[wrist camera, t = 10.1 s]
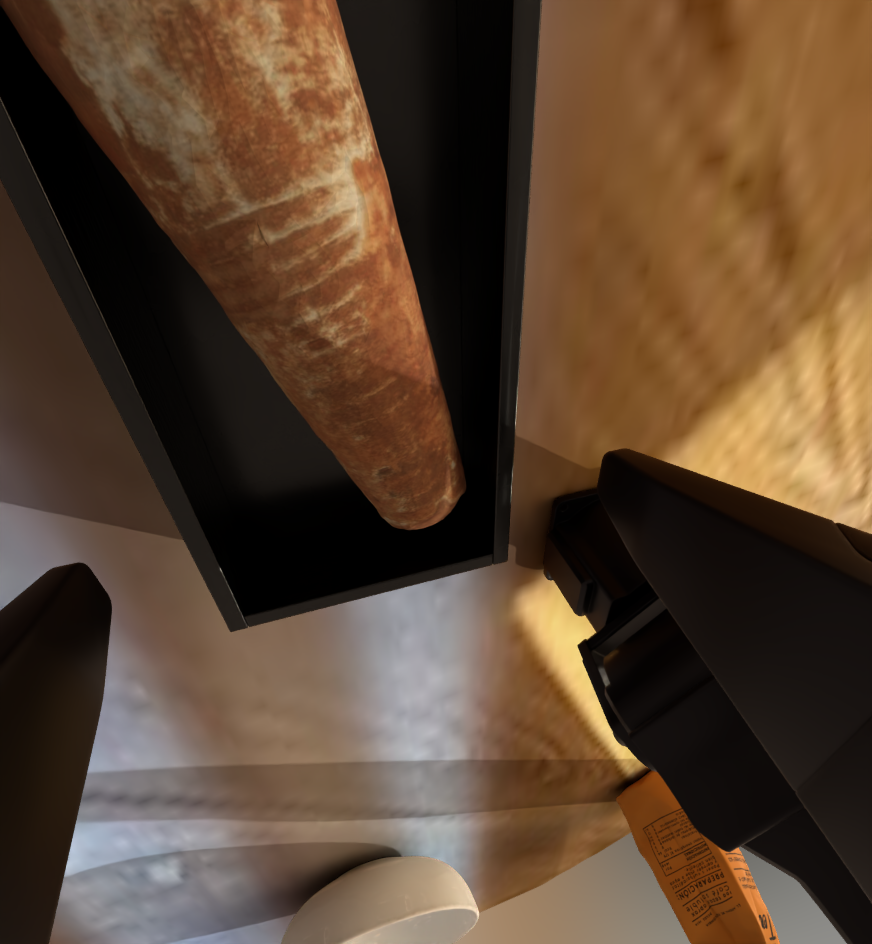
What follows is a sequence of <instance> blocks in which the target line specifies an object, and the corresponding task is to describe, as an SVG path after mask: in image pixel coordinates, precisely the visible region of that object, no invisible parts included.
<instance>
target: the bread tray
mask: <svg viewBox="0 0 872 944" xmlns="http://www.w3.org/2000/svg"><path fill="white" fill-rule="evenodd" d="M336 2H337V5H338V9H339V12H340V16H341V20H342V24H343V27H344V31H345V35H346V38H347V42H348V45H349V49H350V52H351V56H352V59H353V63H354V66H355V69H356V73H357V76H358V80H359V83H360V86H361V90H362V93H363V96H364V100H365V103H366V106H367V110H368V113H369V117H370V120H371V124H372V128H373V131H374V135H375V139H376V142H377V146H378V150H379V153H380V156H381V160H382V163H383V166H384V169H385V172H386V176H387V180H388V184H389V188H390V192H391V196H392V201H393V205H394V209H395V214H396V218H397V222H398V227H399V230H400V234H401V237H402V240H403V244H404V247H405V251H406V254H407V257H408V261H409V264H410V268H411V271H412V275H413V278H414V282H415V285H416V289H417V293H418V297H419V301H420V305H421V309H422V313H423V317H424V320H425V324H426V327H427V331H428V335H429V338H430V342H431V345H432V349H433V353H434V356H435V360H436V363H437V367H438V372H439V376H440V380H441V383H442V387H443V391H444V394H445V398H446V402H447V405H448V409H449V412H450V416H451V422H452V427H453V431H454V435H455V438H456V442H457V446H458V449H459V453H460V457H461V460H462V464H463V467H464V474H465V480H466V485H467V487H466V491H465V493H464V494H462V495H461V497H460V498H459V500H458V501H457V504H456V506H455V507H454V508H453V509H452V511H451V512H450V513H449V514H448V515H447V516H446V517H445V518H444V519H442V520H441V521H439V522H437V523H436V524H434V525H432V526H429V527H426V528H422V529H416V530H406V529H399V528H395V527H393V526H391V525H390V524H389V523H388V522H387V521H386V520H385V519H383V518H382V517H381V516H380V514H379V513H378V511H377V509H376V508H375V506H374V505H373V504H372V503H371V502H370V501H369V500H368V498H367V497H366V496H365V495H364V493H363V492H362V491H361V489H360V488H359V487H358V486H357V485H356V484H355V482H354V481H353V480H352V479H351V477H350V476H349V475H348V473H347V472H346V471H345V469H344V468H343V466H342V465H341V464H340V463H339V461H338V460H337V458H336V457H335V455H334V454H333V453H332V451H331V450H330V449H329V448H328V447H327V446H326V445H325V443H324V442H323V441H322V440H321V439H320V438H319V437H318V436H317V435H316V434H315V432H314V431H313V430H312V428H311V427H310V425H309V424H308V423H307V421H306V420H305V419H304V417H303V416H302V415H301V414H300V412H299V411H298V410H297V408H296V407H295V406H294V405H293V403H292V402H291V401H290V400H289V398H288V397H287V396H286V395H285V393H284V392H283V391H282V389H281V388H280V386H279V385H278V384H277V382H276V381H275V380H274V378H273V377H272V375H271V373H270V372H269V370H268V368H267V367H266V366H265V364H264V363H263V362H262V361H261V359H260V358H259V357H258V355H257V354H256V353H255V351H254V350H253V349H252V348H251V347H250V346H249V344H248V343H247V342H246V341H245V339H244V338H243V337H242V336H241V334H240V333H239V332H238V330H237V329H236V328H235V326H234V325H233V324H232V322H231V321H230V319H229V318H228V316H227V314H226V313H225V311H224V310H223V308H222V306H221V305H220V303H219V302H218V300H217V299H216V298H215V296H214V295H213V293H212V292H211V291H210V289H209V288H208V286H207V285H206V284H205V282H204V281H203V279H202V278H201V277H200V275H199V274H198V273H197V271H196V270H195V269H194V268H193V267H192V266H191V265H190V264H189V262H188V261H187V260H186V259H185V257H184V256H183V255H182V253H181V252H180V251H179V250H178V249H177V247H176V246H175V245H174V244H173V242H172V240H171V238H170V237H169V236H168V235H167V234H166V233H165V232H164V231H163V230H162V229H161V228H160V226H159V225H158V224H157V223H156V221H155V220H154V218H153V217H152V215H151V213H150V212H149V211H148V209H147V208H146V207H145V205H144V204H143V203H142V201H141V200H140V199H139V197H138V196H137V194H136V193H135V192H134V190H133V189H132V187H131V186H130V185H129V183H128V182H127V181H126V179H125V178H124V177H123V176H122V174H121V173H120V172H119V170H118V169H117V168H116V167H115V165H114V164H113V163H112V162H111V160H110V159H109V158H108V157H107V155H106V154H105V153H104V152H103V150H102V149H101V148H100V147H99V146H98V144H97V143H96V142H95V140H94V139H93V138H92V136H91V135H90V134H89V132H88V131H87V130H86V128H85V127H84V126H83V124H82V123H81V122H80V120H79V119H78V118H77V116H76V114H75V112H74V110H73V109H72V108H71V106H70V105H69V104H68V102H67V101H66V100H65V98H64V97H63V96H62V94H61V93H60V92H59V90H58V89H57V88H56V86H55V85H54V84H53V82H52V81H51V80H50V78H49V77H48V76H47V75H46V73H45V72H44V71H43V69H42V68H41V67H40V65H39V64H38V62H37V61H36V59H35V58H34V56H33V55H32V54H31V52H30V51H29V49H28V48H27V46H26V45H25V43H24V41H23V40H22V38H21V36H20V35H19V33H18V31H17V30H16V28H15V26H14V25H13V23H12V22H11V20H10V19H9V17H8V16H7V14H6V13H5V11H4V10H3V9H2V7H1V6H0V179H1V181H2V183H3V185H4V187H5V189H6V191H7V193H8V195H9V197H10V199H11V201H12V203H13V205H14V207H15V209H16V211H17V213H18V215H19V217H20V219H21V221H22V223H23V225H24V227H25V229H26V231H27V233H28V235H29V237H30V238H31V240H32V242H33V244H34V246H35V248H36V250H37V252H38V254H39V256H40V258H41V260H42V262H43V264H44V266H45V268H46V270H47V272H48V274H49V276H50V278H51V280H52V282H53V284H54V286H55V288H56V290H57V292H58V294H59V296H60V298H61V299H62V301H63V303H64V305H65V307H66V309H67V311H68V313H69V315H70V317H71V319H72V321H73V323H74V325H75V327H76V329H77V331H78V333H79V335H80V337H81V339H82V341H83V343H84V345H85V347H86V349H87V351H88V353H89V355H90V357H91V359H92V360H93V362H94V364H95V366H96V368H97V370H98V372H99V374H100V376H101V378H102V380H103V382H104V384H105V386H106V388H107V390H108V392H109V394H110V396H111V398H112V400H113V402H114V404H115V406H116V408H117V410H118V412H119V414H120V416H121V418H122V420H123V421H124V423H125V425H126V427H127V429H128V431H129V433H130V435H131V437H132V439H133V441H134V443H135V445H136V447H137V449H138V451H139V453H140V455H141V457H142V459H143V461H144V463H145V465H146V467H147V469H148V471H149V473H150V475H151V477H152V479H153V481H154V483H155V484H156V486H157V488H158V490H159V492H160V494H161V496H162V498H163V500H164V502H165V504H166V506H167V508H168V510H169V512H170V514H171V516H172V518H173V520H174V522H175V524H176V526H177V528H178V530H179V532H180V534H181V536H182V538H183V540H184V542H185V544H186V545H187V547H188V549H189V551H190V553H191V555H192V557H193V559H194V561H195V563H196V565H197V567H198V569H199V571H200V573H201V575H202V577H203V579H204V581H205V583H206V585H207V587H208V589H209V591H210V593H211V595H212V597H213V599H214V601H215V603H216V605H217V606H218V608H219V610H220V612H221V614H222V616H223V618H224V620H225V622H226V624H227V626H228V628H229V630H230V632H233V631H237V630H241V629H245V628H248V626H249V627H252V626H256V625H259V624H263V623H267V622H271V621H275V620H279V619H283V618H287V617H291V616H295V615H299V614H302V613H306V612H310V611H314V610H318V609H322V608H326V607H330V606H334V605H338V604H342V603H345V602H349V601H353V600H357V599H361V598H365V597H369V596H373V595H377V594H381V593H385V592H388V591H392V590H396V589H400V588H404V587H408V586H412V585H416V584H420V583H424V582H428V581H431V580H435V579H439V578H443V577H447V576H451V575H455V574H459V573H463V572H467V571H471V570H474V569H478V568H482V567H486V566H490V565H492V564H494V565H495V564H498V563H502V562H506V561H507V560H508V544H509V527H510V511H511V495H512V479H513V463H514V446H515V430H516V414H517V398H518V381H519V365H520V349H521V333H522V317H523V300H524V284H525V268H526V252H527V236H528V219H529V203H530V187H531V171H532V154H533V138H534V122H535V106H536V90H537V73H538V57H539V41H540V25H541V9H542V0H336Z"/></svg>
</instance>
